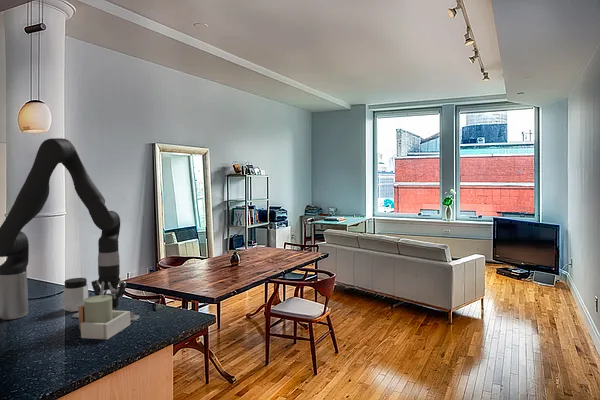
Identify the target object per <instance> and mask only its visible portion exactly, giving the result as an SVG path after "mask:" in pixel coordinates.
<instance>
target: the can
mask: <svg viewBox="0 0 600 400" xmlns="http://www.w3.org/2000/svg"><path fill="white" fill-rule="evenodd" d="M84 312H85V322H88V323H107V322H109V321H111V320H112V319H113V317H112V296H109V295H98V296H95V295H92V296H88V298H86V299H84Z"/></svg>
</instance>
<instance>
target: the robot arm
mask: <svg viewBox="0 0 600 400" xmlns="http://www.w3.org/2000/svg"><path fill="white" fill-rule="evenodd" d="M59 164H62V166H63V167H65V169H66V170H67V172H68V173H69V175H70V177H71V179H72V183H73V187H74V190H75V193H76V194H77V196H78V198H79V199H80V201H81V202H82V203H83V205H84V206H85V208H86V209H87V210H88V213H89V215H90V218H91V220H92V221H93V224H94V225H95V226H96V227H97V229H99V230H101V235H100V236H99V238H98V240H97V241H98V244H97V245H98V253H97V254H98V255H97V273H98V275H97V276H98V278H97V279H95V280H92V281H91V286H92V290H93V293H94V296H98V295H105V294H107V293H108V291H109V292H110V293H112V296H113V298H114V299H113V308H117V307H118V308H119V305H120V301H119V300H120V299H119V298H121V297H123V296H124V295H125V292H126V289H127V288H126V287H127V286H128V285H127V284H128V281H127V280H125V281H124V280H121V278H120V274H121V273H120V272H121V271H120V268H121V267H120V266H121V265H120V252H119V251H120V250H119V236H120V229H121V217H120V215H119V214H118V213H117V211H113V210H109V209H108V208H107V206H106V199H105V197H104V196H103V194H102V193H101V192H100V190H99V189H98V187H97V186H96V184H95V183H94V182H93V180H92V178H91V177H90V175H89V173H88V171H87V170H86V168H85V166H84V164H83V162H82V160H81V158H80V155H79V153H78V152H77V150H76V148H75V146H74V145H73V143H72V142H71V140H69V139H67V138H62V137H60V138H58V137H57V138H55V137H54V138H47V139H45V140H43V141H42V143H40V146H39V147H38V149H37V152H36V156H35V157H34V161H33V164H32V167H31V169H30V171H29V173H27V174H28V175H27V177H26V179H25V181H24V183H23V185H22V187H21V189H20V191H19V192H18V194H17V195H16V198H15V200H14V203H13V205H12V206H11V208H10V210H9V211H8V214H7V216H6V217H5V219H4V221H3V222H2V224H0V225H1V226H0V258H6V260H5V261H4V262H3V263H2V264H0V319H1V320H15V319H20V318H23V317H26V316H27V315H29V297H28V276H27V275H28V271H27V267H28V265H29V262H30V261H29V255H30V253H29V252H30V251H29V250H30V249H29V246H30V245H29V239H28V237H27V234H26V233H25V232H23V231H22V230H23V228H24V227H25V226H26V225H27V224H28V223H30V221H33V219H34V218H36V216H38V214H40V213H41V211H42V210H43V208H44V206H45V204H46V202H47V201H48V198H49V196H50V179H51V177H52V174H53V172H54V171H55V169H56V167H58V165H59Z"/></svg>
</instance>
